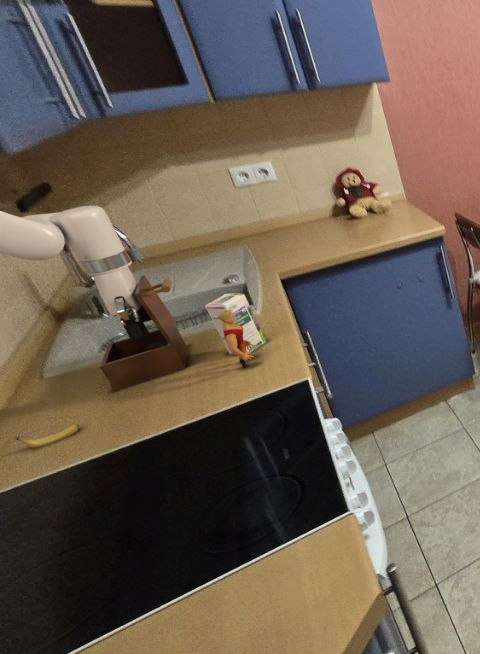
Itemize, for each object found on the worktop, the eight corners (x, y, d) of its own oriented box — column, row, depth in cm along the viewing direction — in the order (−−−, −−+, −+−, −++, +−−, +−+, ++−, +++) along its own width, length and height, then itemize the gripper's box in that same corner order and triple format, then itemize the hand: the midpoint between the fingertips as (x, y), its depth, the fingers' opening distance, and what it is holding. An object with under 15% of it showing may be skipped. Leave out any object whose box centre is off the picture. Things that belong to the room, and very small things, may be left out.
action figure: (259, 371, 123) (233, 315, 117) (241, 377, 121) (213, 321, 115) (258, 353, 130) (234, 300, 124) (241, 359, 129) (215, 305, 122)
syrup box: (249, 356, 130) (225, 304, 123) (229, 355, 131) (203, 304, 124) (267, 343, 135) (245, 292, 128) (247, 343, 136) (224, 292, 129)
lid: (134, 294, 116) (163, 285, 119) (140, 276, 125) (167, 268, 128) (168, 343, 122) (195, 334, 125) (172, 323, 132) (197, 314, 134)
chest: (116, 393, 119) (99, 366, 116) (123, 368, 129) (108, 343, 126) (185, 370, 126) (171, 344, 123) (187, 348, 135) (175, 324, 132)
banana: (25, 456, 102) (13, 440, 101) (26, 451, 103) (15, 435, 102) (83, 434, 107) (72, 418, 105) (83, 429, 108) (73, 414, 107)
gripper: (91, 256, 121) (127, 321, 128) (75, 280, 108) (116, 350, 115) (133, 247, 125) (166, 310, 132) (123, 269, 112) (160, 338, 119)
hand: (143, 329), depth 124 cm, fingers open, 9 cm apart
